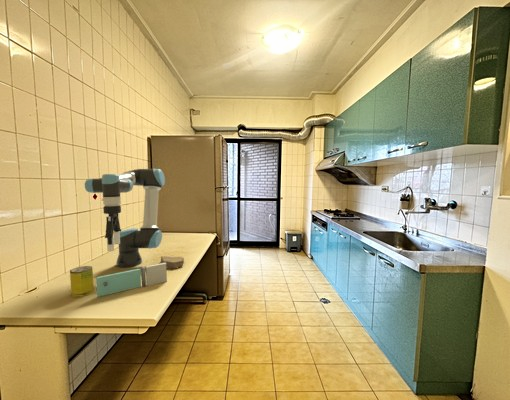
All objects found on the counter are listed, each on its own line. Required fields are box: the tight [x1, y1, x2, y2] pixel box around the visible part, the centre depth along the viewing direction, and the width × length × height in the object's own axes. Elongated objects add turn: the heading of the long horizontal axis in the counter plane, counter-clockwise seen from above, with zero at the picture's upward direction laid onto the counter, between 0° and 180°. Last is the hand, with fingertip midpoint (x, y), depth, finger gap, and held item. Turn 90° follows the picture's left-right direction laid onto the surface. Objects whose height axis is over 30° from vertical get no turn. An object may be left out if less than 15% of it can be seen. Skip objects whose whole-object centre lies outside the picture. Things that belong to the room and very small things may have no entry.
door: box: [95, 268, 142, 298], centre depth 119 cm, size 3×19×9 cm, turn 126°
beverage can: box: [69, 265, 95, 298], centre depth 119 cm, size 9×9×12 cm
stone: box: [160, 255, 185, 270], centre depth 159 cm, size 17×15×4 cm
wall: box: [140, 262, 168, 288], centre depth 128 cm, size 3×20×10 cm, turn 126°
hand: (114, 247), depth 122 cm, fingers open, 13 cm apart
